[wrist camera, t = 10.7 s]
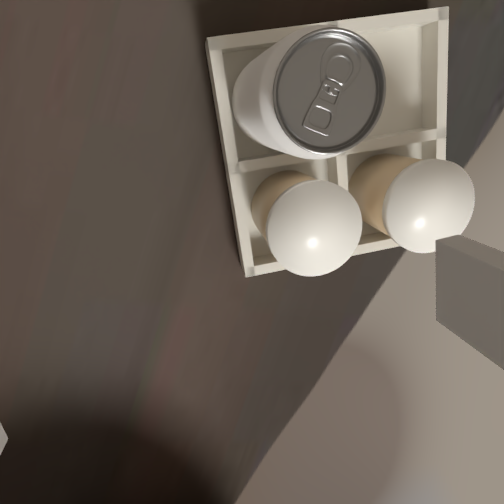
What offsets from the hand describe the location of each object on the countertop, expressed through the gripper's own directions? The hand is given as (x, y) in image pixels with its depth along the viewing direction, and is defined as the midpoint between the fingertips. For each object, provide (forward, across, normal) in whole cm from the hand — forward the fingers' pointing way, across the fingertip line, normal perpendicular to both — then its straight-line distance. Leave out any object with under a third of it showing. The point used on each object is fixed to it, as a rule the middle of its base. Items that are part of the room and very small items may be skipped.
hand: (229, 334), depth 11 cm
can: (+21, +8, +6) cm, 24 cm away
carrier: (+21, +12, +2) cm, 25 cm away
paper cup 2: (+21, +16, -3) cm, 26 cm away
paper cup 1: (+21, +8, -2) cm, 23 cm away
